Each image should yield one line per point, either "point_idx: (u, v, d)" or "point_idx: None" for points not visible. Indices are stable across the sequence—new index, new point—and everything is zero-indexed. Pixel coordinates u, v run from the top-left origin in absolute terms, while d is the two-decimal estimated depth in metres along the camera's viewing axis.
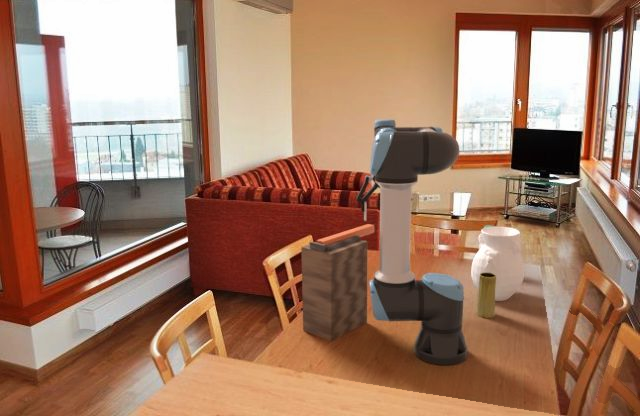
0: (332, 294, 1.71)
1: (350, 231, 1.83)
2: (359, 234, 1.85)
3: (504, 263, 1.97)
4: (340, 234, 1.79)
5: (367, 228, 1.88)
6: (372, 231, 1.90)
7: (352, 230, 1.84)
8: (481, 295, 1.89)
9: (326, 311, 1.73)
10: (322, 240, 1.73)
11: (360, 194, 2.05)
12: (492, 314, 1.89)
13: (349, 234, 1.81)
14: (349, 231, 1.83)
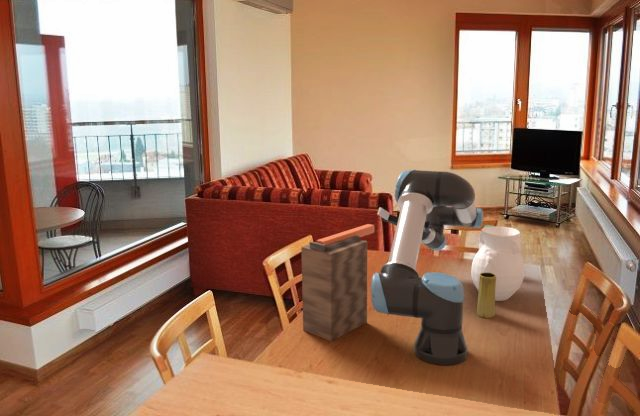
0: (332, 294, 1.71)
1: (350, 231, 1.83)
2: (359, 234, 1.85)
3: (504, 263, 1.97)
4: (340, 234, 1.79)
5: (367, 228, 1.88)
6: (372, 231, 1.90)
7: (352, 230, 1.84)
8: (481, 295, 1.89)
9: (326, 311, 1.73)
10: (322, 240, 1.73)
11: None
12: (492, 314, 1.89)
13: (349, 234, 1.81)
14: (349, 231, 1.83)
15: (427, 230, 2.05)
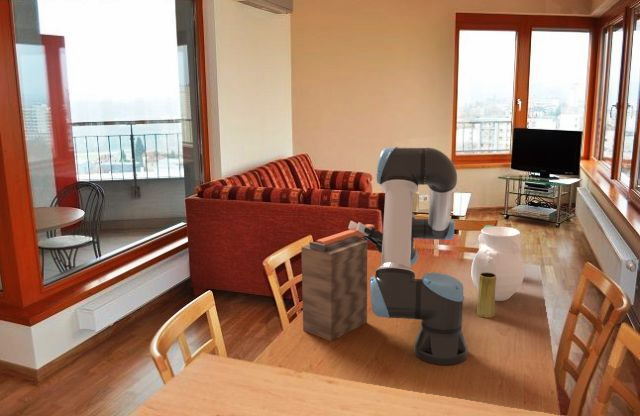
0: (332, 294, 1.71)
1: (350, 231, 1.83)
2: (359, 234, 1.85)
3: (504, 263, 1.97)
4: (340, 234, 1.79)
5: None
6: None
7: (352, 230, 1.84)
8: (481, 295, 1.89)
9: (326, 311, 1.73)
10: (322, 240, 1.73)
11: None
12: (492, 314, 1.89)
13: (349, 234, 1.81)
14: (349, 231, 1.83)
15: None
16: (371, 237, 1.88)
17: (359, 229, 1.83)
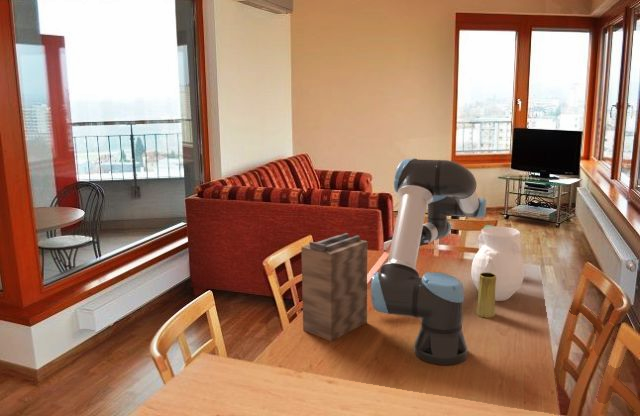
0: (332, 294, 1.71)
1: (386, 254, 2.00)
2: None
3: (504, 263, 1.97)
4: (379, 264, 1.97)
5: None
6: None
7: (387, 252, 2.01)
8: (481, 295, 1.89)
9: (326, 311, 1.73)
10: None
11: (393, 236, 2.11)
12: (492, 314, 1.89)
13: (386, 259, 1.99)
14: (385, 255, 2.00)
15: (418, 246, 2.06)
16: None
17: None
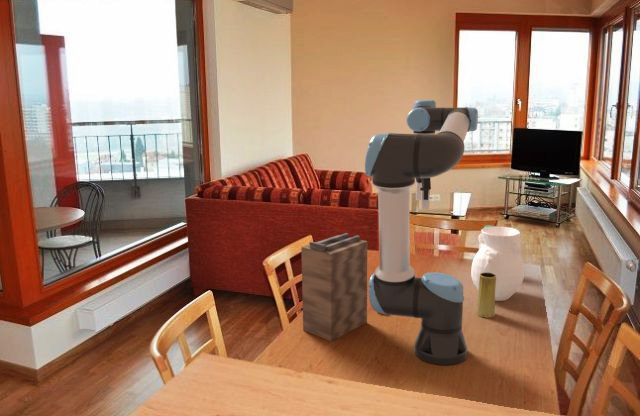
0: (332, 294, 1.71)
1: None
2: None
3: (504, 263, 1.97)
4: None
5: None
6: None
7: None
8: (481, 295, 1.89)
9: (326, 311, 1.73)
10: None
11: None
12: (492, 314, 1.89)
13: None
14: None
15: None
16: (429, 186, 1.93)
17: (427, 206, 1.94)
